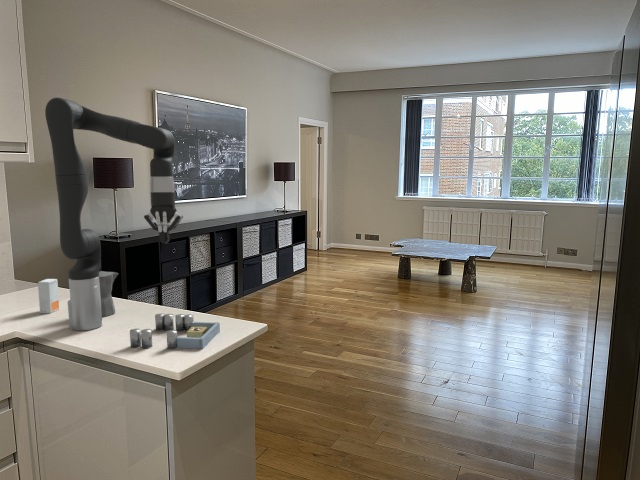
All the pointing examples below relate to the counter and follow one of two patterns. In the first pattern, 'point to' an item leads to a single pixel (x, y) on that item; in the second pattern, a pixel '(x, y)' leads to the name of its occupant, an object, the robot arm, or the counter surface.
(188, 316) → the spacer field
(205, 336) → the parts bay
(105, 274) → the coffeepot
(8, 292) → the counter surface
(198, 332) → the yellow knobbed block
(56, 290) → the skincare box
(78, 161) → the robot arm
